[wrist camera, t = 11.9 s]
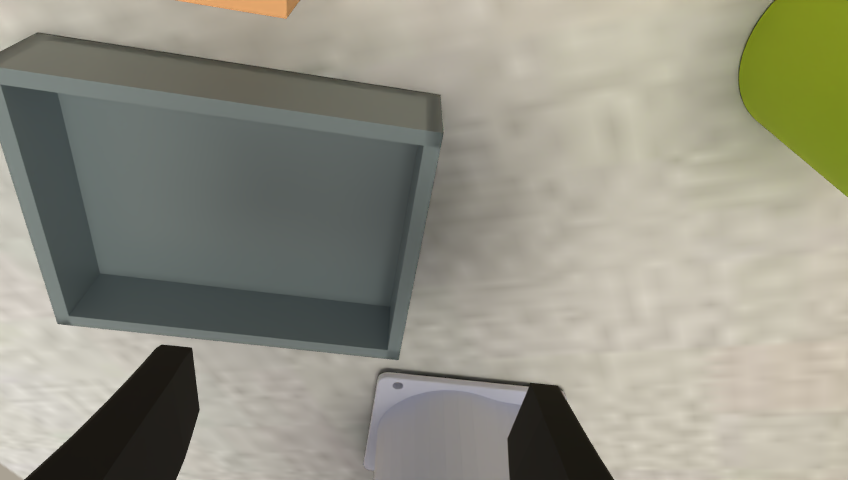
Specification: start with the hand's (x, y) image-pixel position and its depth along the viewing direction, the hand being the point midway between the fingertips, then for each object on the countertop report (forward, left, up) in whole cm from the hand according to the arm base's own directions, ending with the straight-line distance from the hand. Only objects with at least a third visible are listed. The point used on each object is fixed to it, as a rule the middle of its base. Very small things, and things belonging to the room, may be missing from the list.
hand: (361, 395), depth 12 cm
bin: (+5, +2, -10) cm, 12 cm away
